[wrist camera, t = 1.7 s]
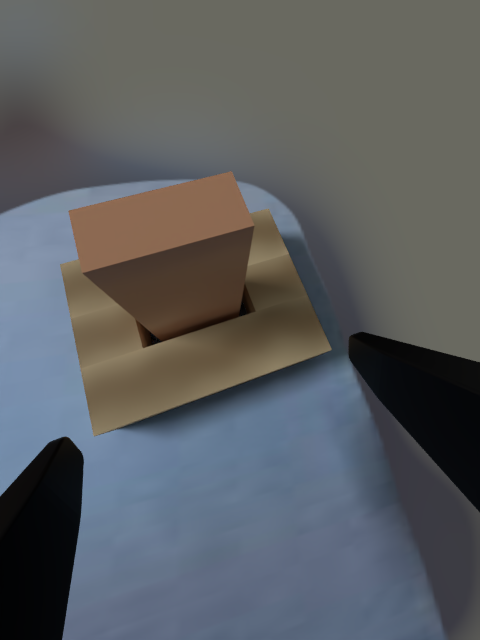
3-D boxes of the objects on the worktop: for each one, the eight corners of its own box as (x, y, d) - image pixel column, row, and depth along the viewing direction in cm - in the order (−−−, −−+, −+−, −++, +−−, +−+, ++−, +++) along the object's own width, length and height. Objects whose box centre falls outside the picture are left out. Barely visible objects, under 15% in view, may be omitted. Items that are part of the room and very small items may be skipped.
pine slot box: (315, 357, 21) (331, 349, 18) (116, 429, 19) (94, 436, 16) (262, 234, 24) (268, 208, 21) (85, 284, 22) (60, 264, 19)
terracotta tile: (237, 322, 22) (254, 225, 9) (166, 346, 21) (81, 272, 9) (228, 296, 22) (231, 171, 10) (158, 317, 22) (68, 210, 9)
